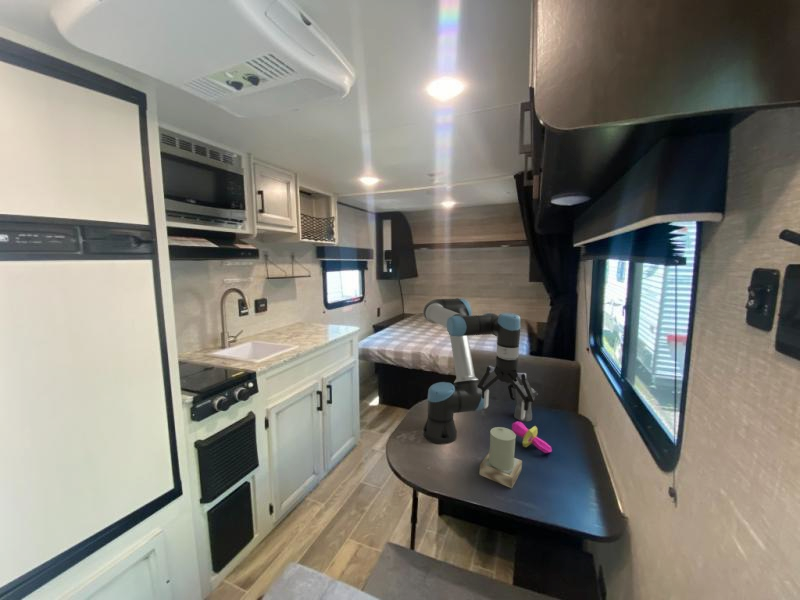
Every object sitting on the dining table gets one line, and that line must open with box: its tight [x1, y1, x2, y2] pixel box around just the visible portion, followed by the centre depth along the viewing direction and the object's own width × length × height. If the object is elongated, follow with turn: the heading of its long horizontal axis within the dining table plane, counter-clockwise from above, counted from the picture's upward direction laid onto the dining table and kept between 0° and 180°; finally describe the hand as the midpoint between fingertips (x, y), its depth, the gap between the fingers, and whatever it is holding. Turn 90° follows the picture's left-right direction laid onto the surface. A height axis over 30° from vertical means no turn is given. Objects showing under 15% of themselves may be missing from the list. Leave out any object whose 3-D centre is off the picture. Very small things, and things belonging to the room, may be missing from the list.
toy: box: [511, 420, 553, 454], centre depth 137 cm, size 10×18×10 cm, turn 44°
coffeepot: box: [507, 383, 539, 422], centre depth 162 cm, size 15×9×18 cm, turn 45°
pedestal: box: [478, 452, 523, 489], centre depth 120 cm, size 12×12×4 cm
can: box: [488, 426, 517, 470], centre depth 119 cm, size 9×9×12 cm
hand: (503, 412), depth 117 cm, fingers open, 13 cm apart
